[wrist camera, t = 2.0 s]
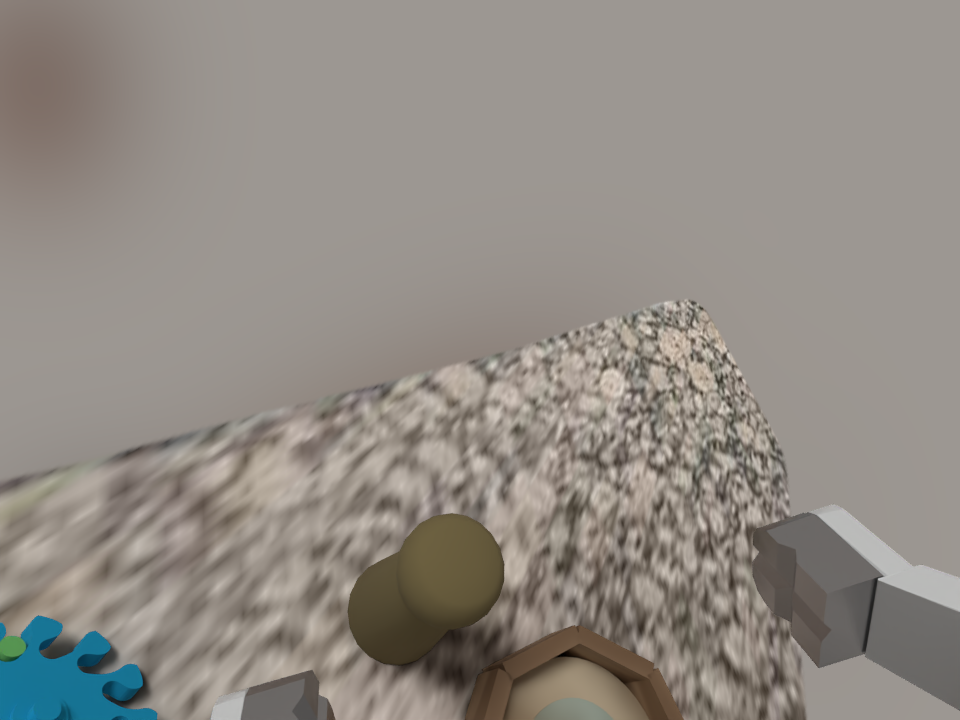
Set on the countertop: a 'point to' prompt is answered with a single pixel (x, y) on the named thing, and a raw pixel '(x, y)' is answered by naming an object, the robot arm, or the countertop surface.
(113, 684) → the gear
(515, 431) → the countertop surface
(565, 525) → the countertop surface
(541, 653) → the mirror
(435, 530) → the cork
